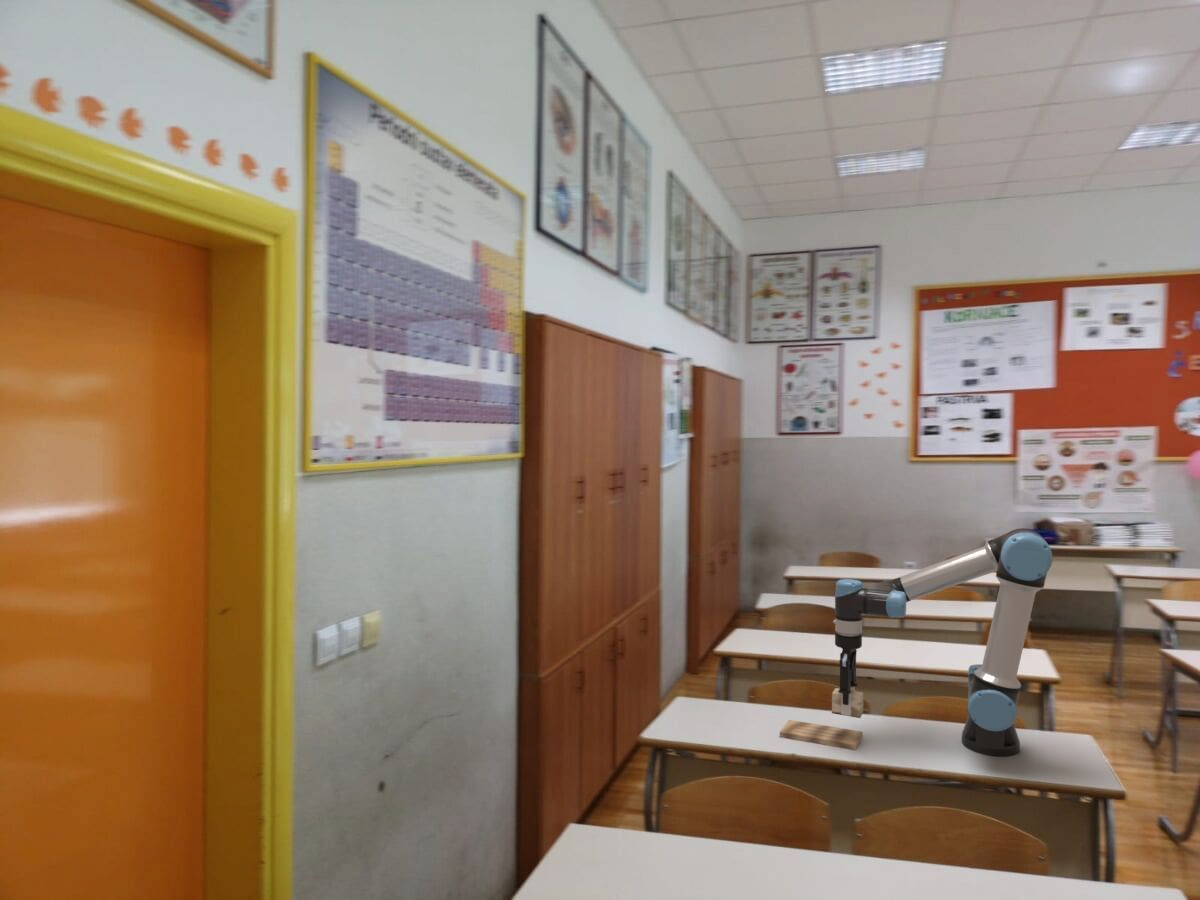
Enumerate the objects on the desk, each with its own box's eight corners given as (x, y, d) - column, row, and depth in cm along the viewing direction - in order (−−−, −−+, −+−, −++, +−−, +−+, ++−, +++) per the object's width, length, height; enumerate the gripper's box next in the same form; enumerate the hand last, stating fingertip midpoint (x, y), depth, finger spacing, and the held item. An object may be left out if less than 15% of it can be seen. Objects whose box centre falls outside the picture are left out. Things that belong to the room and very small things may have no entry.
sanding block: (863, 712, 234) (863, 692, 234) (860, 718, 229) (860, 697, 229) (835, 707, 238) (835, 688, 237) (831, 713, 233) (832, 693, 233)
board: (862, 736, 237) (862, 731, 237) (855, 750, 227) (855, 744, 227) (789, 724, 247) (789, 719, 247) (779, 736, 238) (779, 731, 238)
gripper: (841, 624, 242) (840, 700, 243) (828, 638, 226) (828, 719, 227) (866, 627, 239) (866, 704, 240) (856, 642, 223) (855, 724, 224)
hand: (847, 711), depth 233 cm, fingers closed on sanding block, 5 cm apart
